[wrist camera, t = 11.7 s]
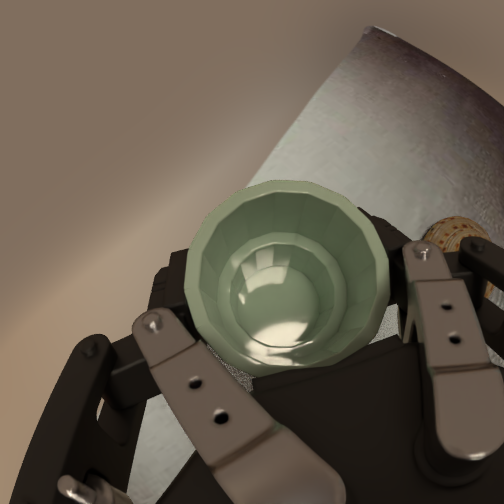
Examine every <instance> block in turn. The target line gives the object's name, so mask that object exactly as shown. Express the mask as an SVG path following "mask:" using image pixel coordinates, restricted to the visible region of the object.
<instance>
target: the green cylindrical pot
mask: <svg viewBox="0 0 504 504" xmlns="http://www.w3.org/2000/svg"><path fill="white" fill-rule="evenodd" d="M371 223H372V222H371V221H370V220H369V219H368V218H367V217H366V216H365V215H364V214H363V213H362V212H361V211H360V210H359V209H358V208H357V207H355V206H354V205H353V204H352V203H351V202H350V201H349V200H348V199H347V198H346V197H344V196H343V195H340V194H338V193H336V192H333V191H331V190H329V189H326V188H324V187H322V186H319V185H317V184H315V183H312V182H308V181H289V180H273V181H272V180H270V181H267V182H264V183H261V184H258V185H255V186H252V187H248V188H245V189H242V190H239V191H237V192H235V193H234V194H233V195H231V196H230V197H229V198H228V199H227V200H225V201H224V202H223V203H222V204H220V205H219V206H218V207H217V208H215V209H214V210H213V211H212V212H211V213H209V214H208V216H207V217H206V218H205V220H204V222H203V223H202V225H201V227H200V229H199V230H198V232H197V234H196V236H195V238H194V240H193V241H192V243H191V245H190V247H189V250H188V253H187V262H186V271H185V281H184V293H185V296H186V300H187V303H188V306H189V309H190V313H191V316H192V319H193V322H194V325H195V328H196V329H197V332H198V333H199V334H200V335H201V336H202V337H203V339H204V340H205V341H206V342H207V343H208V344H209V346H210V347H211V348H212V349H213V350H214V351H215V352H216V354H217V355H218V356H219V357H220V358H221V359H222V360H223V361H225V362H226V363H227V364H229V365H231V366H233V367H235V368H237V369H239V370H241V371H243V372H245V373H248V374H250V375H252V376H254V377H256V378H258V377H262V376H266V375H270V374H274V373H278V372H282V371H286V370H289V369H301V368H313V367H323V366H331V365H334V364H336V363H337V362H339V361H341V360H342V359H344V358H346V357H348V356H349V355H351V354H353V353H354V352H356V351H358V350H359V349H361V348H362V347H364V346H366V345H368V344H369V343H370V342H371V341H372V340H373V338H374V337H375V336H376V334H377V333H378V330H379V327H380V325H381V322H382V319H383V317H384V314H385V311H386V308H387V305H388V303H389V300H390V275H389V259H388V258H387V254H386V252H385V249H384V247H383V245H382V242H381V240H380V238H379V236H378V234H377V232H376V230H375V227H374V225H373V224H371Z"/></svg>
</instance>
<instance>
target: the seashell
mask: <svg viewBox="0 0 504 504" xmlns="http://www.w3.org/2000/svg"><path fill="white" fill-rule="evenodd" d="M468 236H477V237H482V238H484V239H487V240H489V241H490V242H491V240H490V238H489V236H488V233H487V232H486V230H485V229H484V228H483V227H481V226H480V225H479V224H478V223H476V222H474V221H472V220H470V219H468V218H464V217H459V216H454V217H448V218H445V219H443V220H440V221H439V222H437V223H436V224H435V225H433V227H432V228H431V229H430V230H429V232H428V233H427V234H426V236H425V238H424V240H423V241H429V242H432V243H434V244H436V245H438V246H439V247H440V248H441V250H442V253H443V252H455V251H459V247H460V241H461V240H462V239H463V238H465V237H468ZM493 289H494V285H493V284H492V283H490V282H489V281H488V284H487V288H486V292H485V296H484V297H486V298H487V299H488V298H489V296H490V294H491V292H492V291H493Z"/></svg>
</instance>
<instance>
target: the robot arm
mask: <svg viewBox="0 0 504 504" xmlns="http://www.w3.org/2000/svg"><path fill="white" fill-rule="evenodd" d="M357 208H358V209H359V210H360V211H361V212H362V213H363V214H364V215H365V216H366V217H367V218H368V219H369V220H370V221H371V222H372V223H371V224H373V225H374V227H375V230H376V232H377V234H378V236H379V238H380V240H381V242H382V245H383V247H384V249H385V252H386V254H387V258H388V259H389V275H390V300H389V303H388V305H387V306H390V305H393V304H396V303H397V305H398V311H397V319H398V331H399V336H398V334H396V335H393V336H390V337H388V338H385V339H383V340H380V341H377V342H374V343H372V344H369V345H366V346H364V347H362V348H361V349H359V350H358V351H356V352H354V353H353V354H351V355H349V356H348V357H346V358H344V359H342V360H341V361H339V362H337V363H336V364H334V365H331V366H323V367H313V368H301V369H289V370H286V371H282V372H278V373H274V374H270V375H266V376H262V377H258V378H254V379H252V384H253V389H254V390H253V391H251V392H249V393H248V392H247V391H246V390H245V389H244V388H243V386H242V385H241V384H240V383H239V382H238V381H237V380H236V379H235V378H234V377H233V376H232V374H231V373H230V372H229V371H228V370H227V369H226V368H225V367H224V366H223V364H222V363H221V362H220V361H219V360H218V359H217V358H216V356H215V355H214V354H213V353H212V352H211V351H210V350H209V348H208V347H207V342H206V341H205V340H204V339H203V337H202V336H201V335H200V334H199V333H198V332H197V329H196V328H195V325H194V322H193V319H192V316H191V313H190V309H189V306H188V303H187V300H186V296H185V293H184V281H185V271H186V262H187V253H188V250H189V248H188V249H184V250H180V251H177V252H172V253H171V256H170V262H169V266H168V267H164V268H161V269H160V270H159V272H158V273H157V274H156V275H155V277H154V282H153V287H152V290H151V291H152V293H151V295H150V299H149V304H148V309H147V311H146V312H145V313H143V314H141V315H140V316H139V317H138V318H137V319H136V320H135V322H134V323H133V325H132V334H131V335H129V336H127V337H125V338H122V339H120V340H118V341H116V342H113V343H111V342H110V341H109V339H108V338H107V337H106V336H105V335H103V334H94V335H90V336H88V337H86V338H84V339H83V340H81V341H80V342H79V343H78V344H77V345H76V346H75V348H74V349H73V351H72V353H71V355H70V357H69V359H68V361H67V363H66V365H65V367H64V369H63V371H62V373H61V375H60V377H59V379H58V381H57V383H56V385H55V387H54V389H53V391H52V393H51V395H50V398H49V400H48V402H47V404H46V406H45V409H44V411H43V413H42V416H41V418H40V420H39V422H38V425H37V427H36V430H35V432H34V434H33V437H32V439H31V442H30V444H29V447H28V450H27V452H26V455H25V457H24V460H23V463H22V466H21V469H20V471H19V475H18V477H17V480H16V483H15V486H14V489H13V492H12V496H11V499H10V503H9V504H133V502H132V500H131V499H130V497H129V496H128V495H127V494H126V493H127V488H128V483H129V478H130V473H131V468H132V463H133V459H134V454H135V450H136V445H137V441H138V436H139V432H140V428H141V424H142V420H143V415H144V411H145V407H146V403H147V400H148V399H150V398H152V397H155V396H157V395H159V394H163V396H164V398H165V399H166V401H167V403H168V405H169V406H170V408H171V410H172V411H173V413H174V415H175V417H176V418H177V420H178V421H179V423H180V425H181V426H182V428H183V430H184V431H185V433H186V434H187V436H188V437H189V439H190V441H191V442H192V444H193V445H194V447H195V448H196V450H195V451H194V453H193V454H192V455H191V457H190V458H189V460H188V461H187V462H186V464H185V465H184V466H183V468H182V469H181V471H180V472H179V473H178V475H177V476H176V477H175V479H174V480H173V481H172V483H171V484H170V485H169V487H168V488H167V489H166V491H165V492H164V493H163V494H162V496H161V497H160V498H159V500H158V501H157V502H156V504H504V368H503V367H500V366H497V365H495V364H493V363H492V362H491V360H490V358H489V354H488V350H487V347H486V344H487V345H488V346H489V347H490V348H491V349H492V350H494V351H495V352H496V353H497V354H498V355H499V356H500V357H501V358H502V359H503V360H504V311H503V310H502V309H500V308H499V307H498V306H496V305H495V304H494V303H492V302H491V301H490V300H488V299H487V298H486V297H484V296H485V292H486V288H487V284H488V281H489V282H490V283H492V284H493V285H494V286H496V287H497V288H499V289H500V290H502V291H503V292H504V249H503V248H501V247H499V246H497V245H496V244H494V243H492V242H490V241H489V240H487V239H484V238H482V237H477V236H468V237H465V238H463V239H462V240H461V241H460V247H459V251H455V252H443V253H442V250H441V248H440V247H439V246H438V245H436V244H434V243H432V242H429V241H423V240H416V241H412V240H411V239H409V238H408V237H407V236H405V235H404V234H403V233H402V232H400V231H399V230H397V229H396V228H395V227H394V226H391V224H390V223H388V222H387V221H386V220H384V219H382V218H379V217H376V216H371V215H370V214H368V213H367V212H366V211H364V210H363V209H362V208H360V207H357ZM101 398H103V399H104V404H103V406H102V409H101V412H100V415H99V418H98V421H97V416H96V414H97V408H98V406H99V403H100V400H101Z"/></svg>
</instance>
